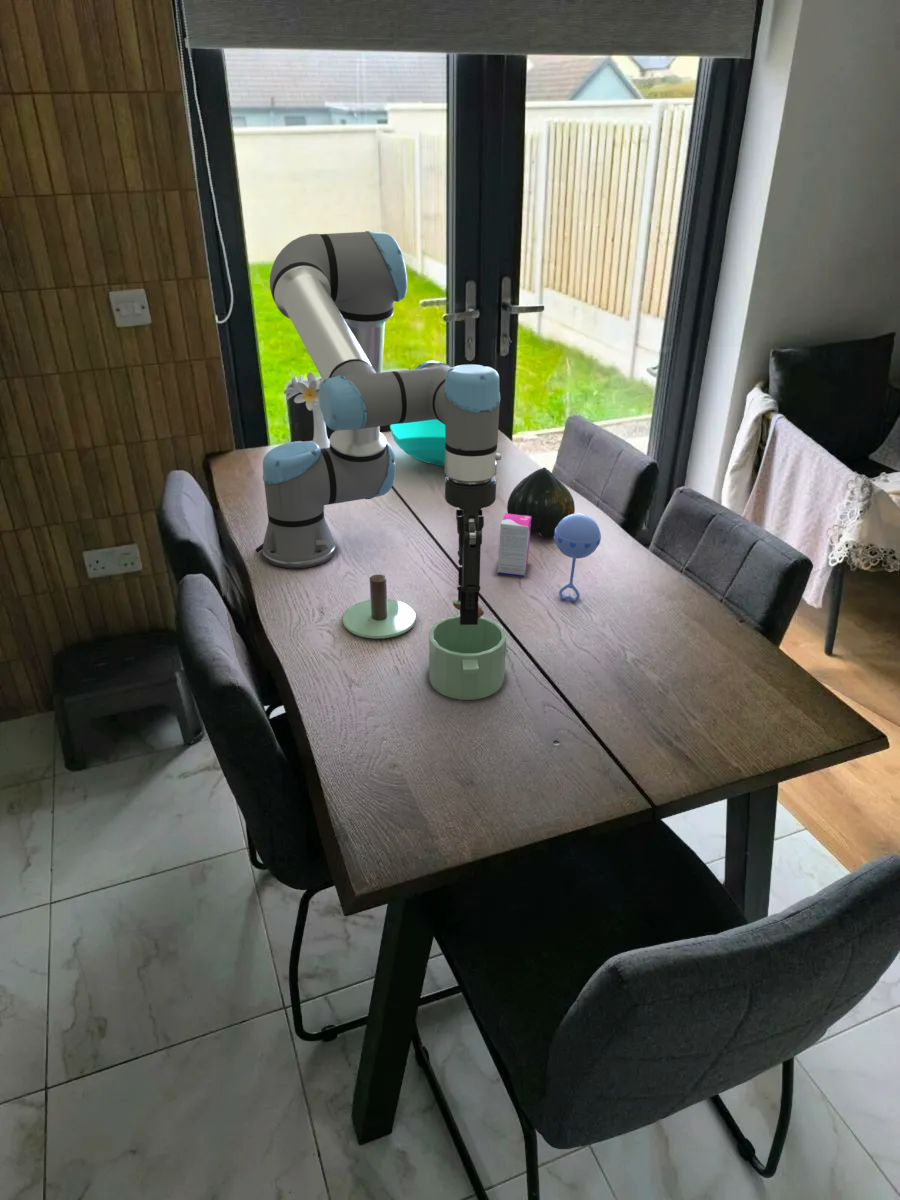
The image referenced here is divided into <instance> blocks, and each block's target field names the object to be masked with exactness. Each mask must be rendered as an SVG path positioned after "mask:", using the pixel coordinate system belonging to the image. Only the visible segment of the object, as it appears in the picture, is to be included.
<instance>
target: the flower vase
mask: <svg viewBox="0 0 900 1200" xmlns="http://www.w3.org/2000/svg"><path fill="white" fill-rule="evenodd" d="M303 376H304V375H303V374H301V375H300V376H299V377H298V379H297V376H295V375H293V377H292V378H291V385H292V386H290V387H287V388H286V389H285V390H284V391H283V394H284V395H287V396H286V400H287V401H288V400H290V399H291V398H292V397H293V396H295V397H294V399H293V402H294V403H295V404H301V403H305V406H306V409H307V410H308V411H312V417H313V438H312V440H311V442H314V443H316V444H317V445H318V446H319V448H320V449H322V448H329V447H330V438H328V432H327V425H326V424H325V422H324V419H323V415H322V412H321V408H320V402H319V389H320V385H321V383H322V381H323V379H322V377H320V378H319V379H316V376H315V375H314V373H313V372H312V371H310V372H307V376H306V378H307V382H303ZM299 393H301V394H299Z"/></svg>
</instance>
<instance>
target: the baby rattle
mask: <svg viewBox="0 0 900 1200" xmlns="http://www.w3.org/2000/svg"><path fill="white" fill-rule="evenodd" d="M553 539H554V542H555V544H556V547H557V548H558V550H559V552H561V553H562V554H563V555H564V556H566V557H568V558H571V559H572V562H571V568H570V576H569V583H567V584H566V585H564V586H563V587H561V589H560V590H559V591H558V595H559V597H560V599H562V600H569V601H572V602H577V601H578V600H580V598H581V594H580V591H579V590H578V588H577V587H576V586H575V585H574V575H575V568H576V561H577V559H584V558H586V557H589V556H590V555H592V554H593V553H594V552H595V551H596V550H597V548H598V546H600V544H601V540H602V533H601V530H600V527H599V524H598V523H597V522H596V520H594V519H593V518H592V517H591V516H590V515H587V514H584V513H577V512H576V513H574V514H571V515H568V516H566V517H565V518H563V519H562V520H561V521H560V522H559V524H558V525H557V527H556V528H555V532H554V537H553ZM567 589H572V591H574V593H575V595H576V597H572V596H571V595H564V594H563V592H564V591H565V590H567Z"/></svg>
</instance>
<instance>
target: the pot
mask: <svg viewBox="0 0 900 1200" xmlns="http://www.w3.org/2000/svg"><path fill="white" fill-rule="evenodd" d="M506 653H507V634H506V630H505V629H504V628H503V627H502V626H501V624H499V622H496V621H494V620H493V619H490V618H488V617H484V616H481V617H480V618H479V619H478V625H460V611H459V610H457V611H456V615H453V616H448V617H445V618H443V619H441V620H439V621H437V622H435V623H434V624H433V625H432V627H430V629H429V631H428V675H429V676H428V680H429V683H430V685H431V686H432V688H433V689H434V690H435V691H436V692H438V693H439V694H441V695H443V696H445V697H448V698H451V699H455V700H462V701H474V700H480V699H485V698H487V697H490V696H491V695H493V694H495V693H497V692H498V691H499V690H500V689H501V688H502V686H503V684H504V680H505V674H506V673H505V669H506Z"/></svg>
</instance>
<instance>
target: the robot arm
mask: <svg viewBox="0 0 900 1200" xmlns="http://www.w3.org/2000/svg"><path fill="white" fill-rule="evenodd" d="M269 289H270V294H271V298H272V299H273V301H274V304H275V306H276V307H277V309H278V311H279V312H280V313H281V314H282V315H283V316H284V317H286V318H287V319H289V320H290V321H291V323H292V325H293V326H294V328H295V330H296V332H297V334H298V336H299V338H300V340H301V341H302V344H303V345H304V347H305V349H306V351H307V353H308V354H309V357H310V358H311V361H312V362H313V364H314V366H315V368H316V370H317V373H318V374H319V375H320V378H322V379H323V381H322V383H321V385H320V389H319V402H320V408H321V412H322V415H323V419H324V422H325V424H326V427H328V428H329V429H330V430H331V431H333V432H332V433H331V434H330V436H329V441H330V447H329V448H322V449H320V448H319V446H318V445H317V444H316V443H314V442H312V441H310V440H305V441H302V440H297V441H295V440H294V441H290V442H286V443H283V444H279V445H278V446H275V447H273V448H271V449H270V450H269V451H267V453H266V454H265V455H264V457H263V460H262V480H263V482H264V483H263V485H264V492H265V502H266V512H267V526H266V529H265V535H264V539H263V542H262V544H260V545H259V546H257V547H256V548H255V550H254V551H255V552H256V553H259V552H261V551H262V557H263V559H264V560H265V561H266V562H267V563H268V564H269V565H272V566H275V567H278V568H283V569H307V568H312V567H315V566H320V565H321V564H324V563H326V562H328V561H329V560H330V559H332V558H333V557H334V556H335V554H336V544H335V543H336V542H335V539H334V537H333V533H332V532H331V530H330V528H329V525H328V523H327V520H326V518H325V506H329V505H334V504H335V505H336V504H340V503H341V504H342V503H348V502H354V501H359V500H372V499H374V498H378V497H381V496H384V495H386V494H388V493H389V492H390V491H391V489H392V487H393V485H394V483H395V477H396V463H395V460H396V458H395V457H396V456H395V452H394V449H393V447H392V445H391V443H389V442H388V441H387V438H386V436H385V435H384V434H383V433H382V432H380V430H381V427H386V426H390V425H393V424H402V423H410V422H418V421H426V420H435V419H436V420H439V421H440V422H441V423H443V424H445V465H444V474H445V475H446V476H445V478H444V500H445V502H446V503H447V504H448V505H450V506H451V507H454V508H455V520H456V529H457V530H456V531H457V534H458V550H457V555H458V561H457V563H458V565H459V566H458V575H457V576H458V577H457V579H458V581H457V585H456V590H457V601H460V625H478V605H479V597H480V596H479V592H480V591H481V584H480V583H481V551H482V550H481V549H482V548H481V545H482V544H483V528H484V525H485V516H484V515H483V509H484V508H488V507H490V506H492V505H494V503H495V501H496V499H497V496H496V495H497V478H496V477H495V476H496V474H497V466H498V465H497V464H498V463H497V461H501V460H502V455H501V453H498V444H499V442H498V441H499V425H500V424H499V423H500V405H501V404H500V403H501V399H502V398H501V392H500V375H499V373H498V371H497V370H496V369H494V368H493V367H491V366H484V365H481V364H460V365H459V364H458V365H456V366H452V365H450V364H447V363H445V362H442V361H438V360H426V361H424V362H422V363H421V364H419V365H418V366H416V367H415V368H412V369H406V370H405V369H403V370H393V371H383V370H384V369H383V367H384V366H383V365H384V346H385V345H384V344H385V326H386V325H385V324H386V323H387V321H388V320H390V319H391V318H392V316H393V315H394V308H395V302H396V303H399V302H400V301H402V300H404V299H405V298H406V294H407V291H408V275H407V267H406V264H405V259H404V256H403V252H402V250H401V246H400V245H399V243H398V241H397V240H396V239H395V237H393V235H392V234H390V233H388V232H380V231H378V232H377V231H371V230H366V231H355V232H354V231H353V232H352V231H351V232H335V233H333V232H332V233H307V234H304V235H301V236H299V237H297V238H295V239H293V240H291V241H290V242H288V243H287V244H286V245H285V246H284V247H283V248H282V249H281V250H280V252H279V253H278V254H277V256H276V258H275V259H274V261H273V264H272V267H271V270H270V273H269Z"/></svg>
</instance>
